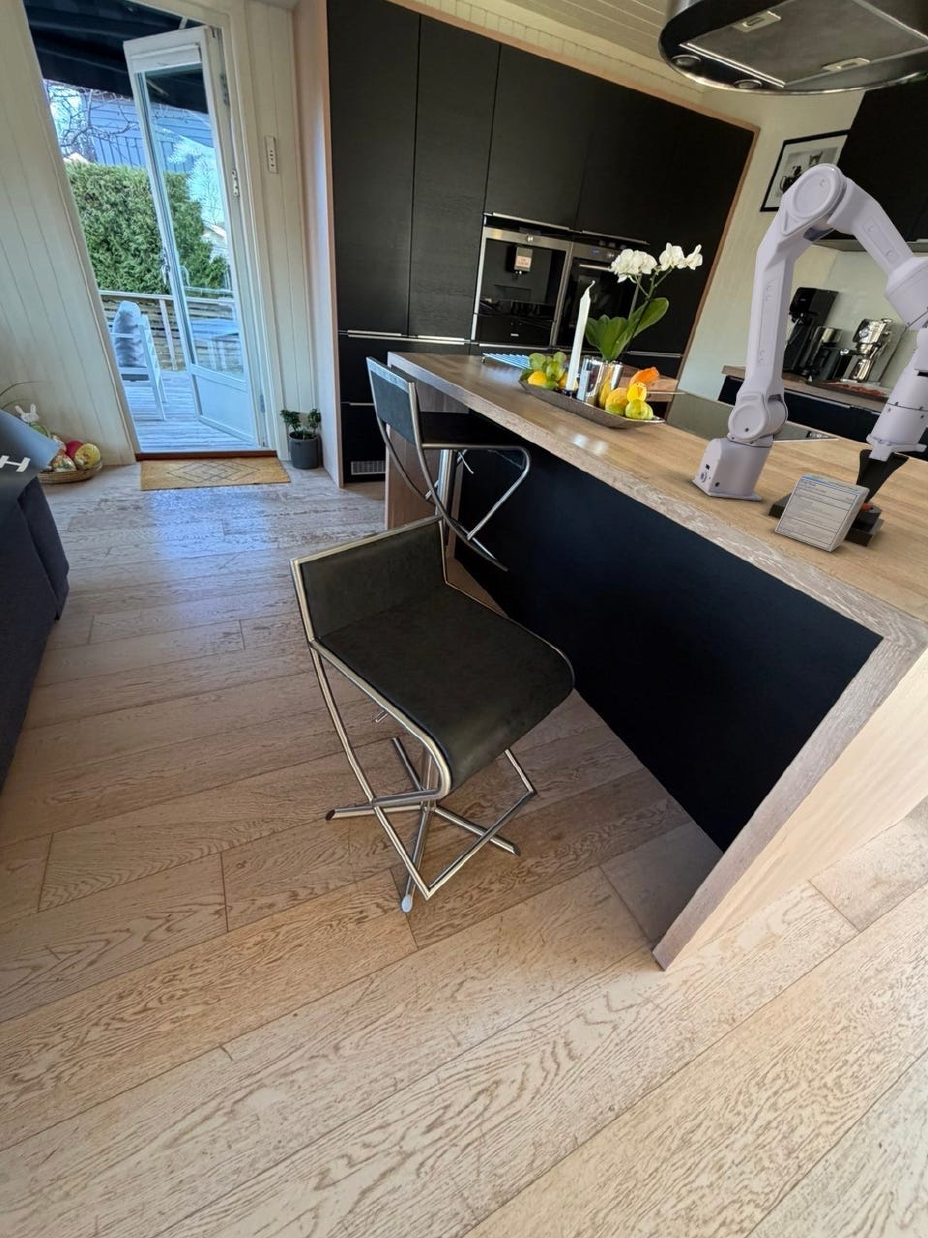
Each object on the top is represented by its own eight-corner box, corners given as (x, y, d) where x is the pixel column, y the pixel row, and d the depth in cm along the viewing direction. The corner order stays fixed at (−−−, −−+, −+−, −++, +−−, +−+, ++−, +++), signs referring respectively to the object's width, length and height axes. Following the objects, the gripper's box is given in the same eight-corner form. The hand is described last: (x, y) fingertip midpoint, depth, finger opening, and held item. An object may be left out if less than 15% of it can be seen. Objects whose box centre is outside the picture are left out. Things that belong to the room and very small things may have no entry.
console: (866, 547, 76) (880, 521, 74) (767, 515, 84) (778, 491, 81) (878, 531, 82) (892, 507, 80) (785, 503, 90) (795, 480, 88)
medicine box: (840, 546, 75) (872, 488, 70) (829, 553, 73) (862, 493, 68) (784, 526, 80) (811, 471, 75) (773, 532, 77) (799, 475, 73)
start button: (863, 519, 79) (871, 506, 77) (837, 511, 80) (844, 498, 79) (868, 514, 81) (875, 501, 80) (842, 507, 83) (849, 494, 82)
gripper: (940, 418, 65) (882, 519, 73) (950, 409, 75) (897, 499, 82) (876, 405, 69) (826, 503, 77) (893, 399, 78) (847, 486, 86)
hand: (860, 500), depth 80 cm, fingers closed, pressing on start button
